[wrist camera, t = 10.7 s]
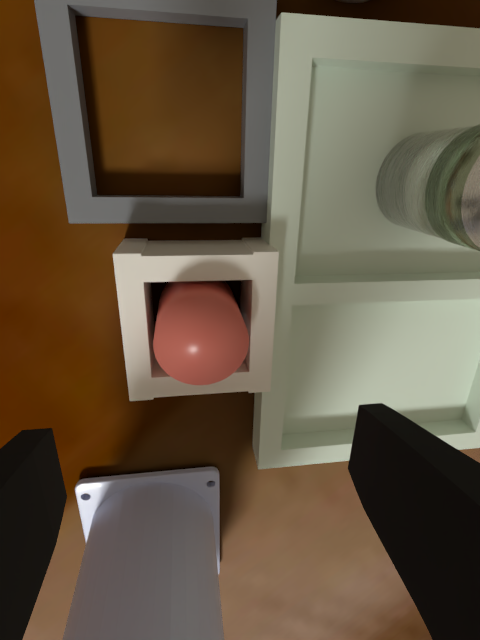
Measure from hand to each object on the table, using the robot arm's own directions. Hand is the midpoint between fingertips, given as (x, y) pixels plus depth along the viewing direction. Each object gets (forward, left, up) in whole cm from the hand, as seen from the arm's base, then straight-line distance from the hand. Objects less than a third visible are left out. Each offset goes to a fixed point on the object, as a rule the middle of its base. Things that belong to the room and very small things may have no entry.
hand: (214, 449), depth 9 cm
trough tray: (+1, -10, -10) cm, 14 cm away
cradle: (+8, +1, -10) cm, 13 cm away
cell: (+6, -10, -9) cm, 15 cm away
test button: (0, 0, -10) cm, 10 cm away
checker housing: (0, 0, -10) cm, 10 cm away
